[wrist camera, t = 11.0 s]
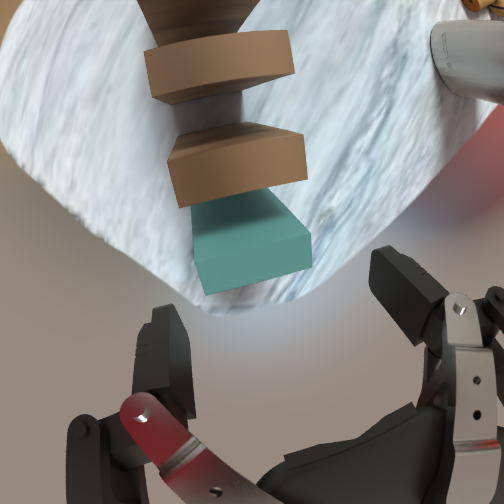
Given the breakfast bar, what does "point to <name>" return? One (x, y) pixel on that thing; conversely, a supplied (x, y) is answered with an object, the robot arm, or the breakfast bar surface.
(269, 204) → the teal domino
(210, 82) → the domino
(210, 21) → the domino
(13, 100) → the breakfast bar surface
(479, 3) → the kendama
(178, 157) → the domino
